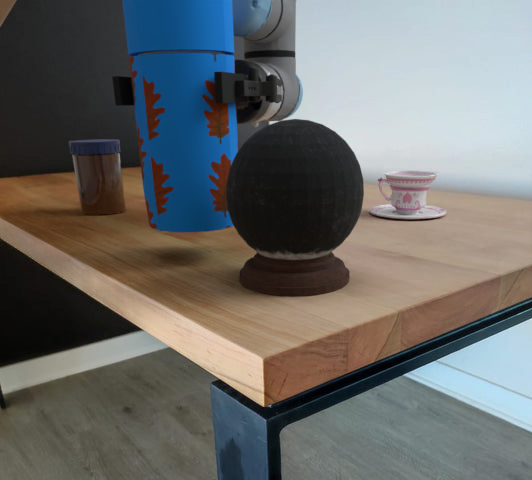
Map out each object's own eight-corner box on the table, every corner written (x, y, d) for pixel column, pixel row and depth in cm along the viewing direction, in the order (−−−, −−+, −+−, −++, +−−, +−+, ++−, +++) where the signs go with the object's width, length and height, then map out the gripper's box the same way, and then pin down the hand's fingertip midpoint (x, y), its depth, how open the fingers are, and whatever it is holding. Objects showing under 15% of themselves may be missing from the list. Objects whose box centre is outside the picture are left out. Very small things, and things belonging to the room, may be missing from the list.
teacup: (438, 207, 92) (442, 169, 90) (453, 220, 81) (458, 177, 79) (366, 207, 93) (369, 169, 91) (372, 220, 82) (374, 178, 80)
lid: (63, 154, 87) (61, 142, 86) (79, 150, 94) (77, 139, 94) (114, 153, 87) (112, 141, 86) (126, 149, 94) (124, 138, 94)
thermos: (235, 212, 69) (225, -23, 59) (247, 229, 59) (237, -49, 49) (148, 217, 67) (121, -25, 57) (146, 235, 58) (113, -52, 47)
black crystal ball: (295, 255, 64) (296, 117, 58) (386, 278, 55) (398, 117, 49) (204, 278, 56) (193, 120, 50) (291, 309, 47) (292, 121, 41)
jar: (75, 215, 91) (64, 146, 87) (88, 208, 98) (79, 143, 94) (120, 214, 91) (111, 145, 87) (130, 207, 98) (123, 142, 94)
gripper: (330, 122, 71) (276, 129, 52) (172, 124, 78) (75, 130, 59) (332, 56, 68) (275, 39, 49) (167, 65, 75) (63, 52, 56)
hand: (166, 89), depth 54 cm, fingers closed on thermos, 11 cm apart
